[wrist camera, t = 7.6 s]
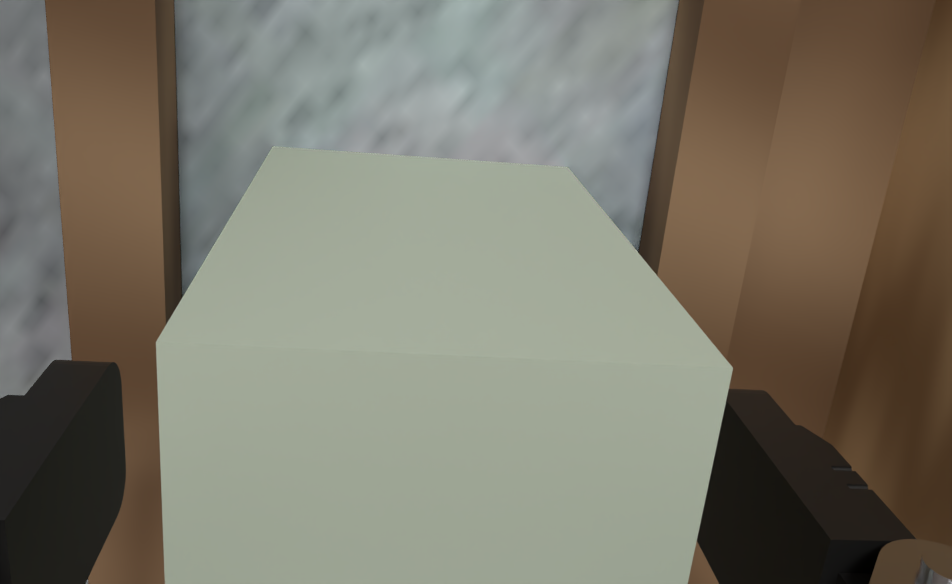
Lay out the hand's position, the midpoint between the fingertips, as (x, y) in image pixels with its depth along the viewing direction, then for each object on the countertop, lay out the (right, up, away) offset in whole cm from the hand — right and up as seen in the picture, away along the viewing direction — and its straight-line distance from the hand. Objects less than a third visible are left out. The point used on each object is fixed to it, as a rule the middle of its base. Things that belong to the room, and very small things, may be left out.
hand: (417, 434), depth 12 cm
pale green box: (0, +1, +4) cm, 4 cm away
